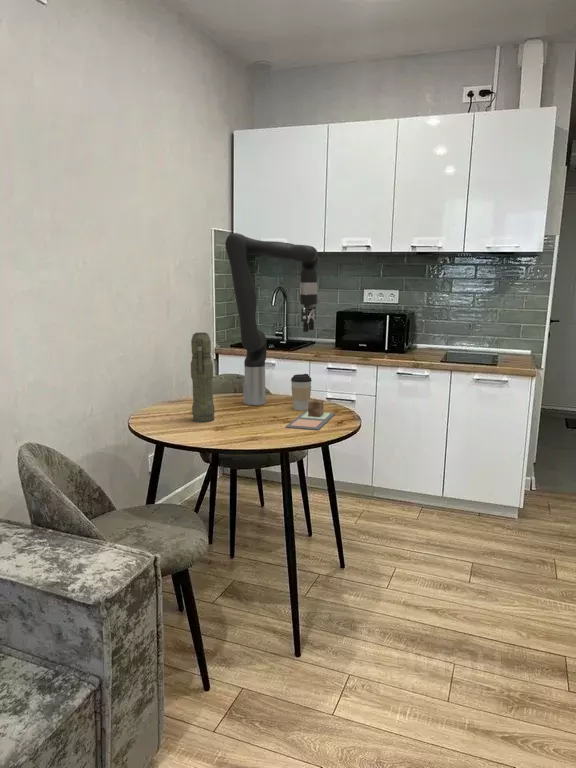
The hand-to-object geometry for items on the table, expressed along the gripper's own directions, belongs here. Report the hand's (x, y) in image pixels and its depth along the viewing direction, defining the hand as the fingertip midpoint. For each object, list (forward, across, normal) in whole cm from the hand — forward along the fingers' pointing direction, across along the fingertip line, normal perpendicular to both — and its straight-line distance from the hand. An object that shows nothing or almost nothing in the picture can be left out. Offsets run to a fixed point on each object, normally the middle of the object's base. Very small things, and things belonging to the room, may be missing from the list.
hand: (308, 330), depth 251 cm
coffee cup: (+33, +8, -1) cm, 34 cm away
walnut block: (+32, +20, +9) cm, 39 cm away
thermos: (+33, +38, -33) cm, 60 cm away
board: (+33, +27, +9) cm, 44 cm away
